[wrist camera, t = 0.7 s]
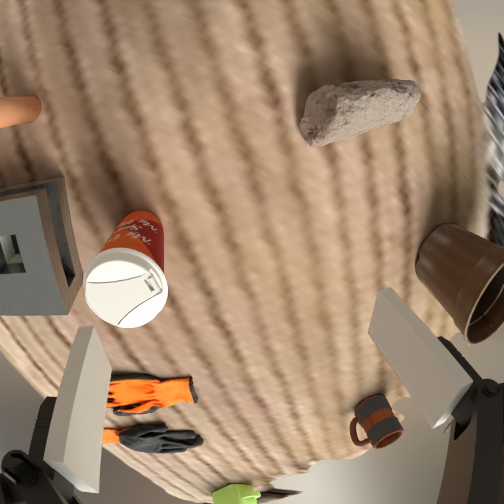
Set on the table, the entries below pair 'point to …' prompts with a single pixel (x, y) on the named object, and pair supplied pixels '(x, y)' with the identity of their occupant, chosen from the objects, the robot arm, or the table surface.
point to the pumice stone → (356, 109)
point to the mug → (376, 422)
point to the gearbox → (236, 494)
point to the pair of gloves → (147, 401)
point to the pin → (18, 110)
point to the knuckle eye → (9, 250)
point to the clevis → (38, 250)
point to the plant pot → (465, 279)
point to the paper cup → (129, 273)
